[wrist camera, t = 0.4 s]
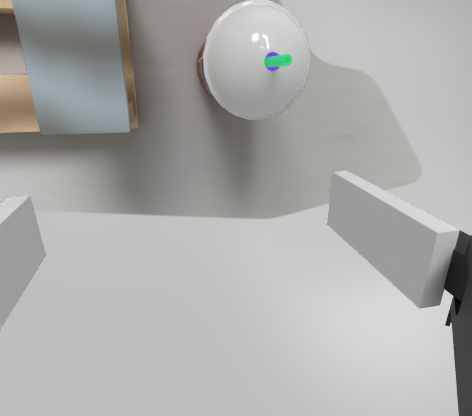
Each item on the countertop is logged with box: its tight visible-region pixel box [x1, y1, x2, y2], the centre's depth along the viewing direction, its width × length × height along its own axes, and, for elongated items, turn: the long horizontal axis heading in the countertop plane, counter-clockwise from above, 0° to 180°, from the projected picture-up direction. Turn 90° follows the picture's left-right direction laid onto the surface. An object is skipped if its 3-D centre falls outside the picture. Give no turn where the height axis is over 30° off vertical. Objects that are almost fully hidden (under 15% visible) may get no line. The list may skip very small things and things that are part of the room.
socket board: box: [0, 0, 139, 135], centre depth 28 cm, size 18×16×12 cm
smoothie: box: [196, 0, 310, 120], centre depth 29 cm, size 8×8×20 cm
